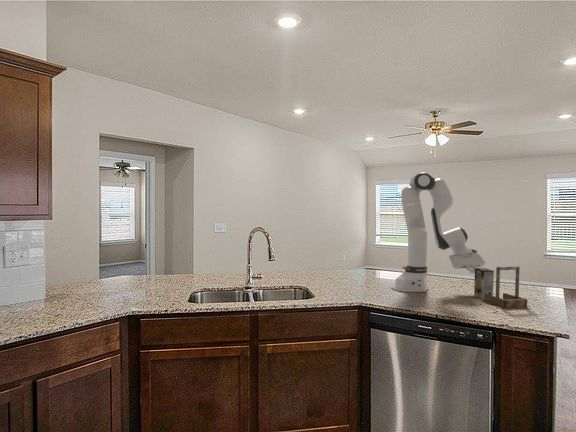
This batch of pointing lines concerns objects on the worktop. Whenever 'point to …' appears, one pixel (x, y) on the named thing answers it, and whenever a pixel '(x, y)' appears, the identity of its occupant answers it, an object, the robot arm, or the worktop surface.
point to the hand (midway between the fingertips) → (474, 272)
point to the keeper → (508, 299)
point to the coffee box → (483, 282)
